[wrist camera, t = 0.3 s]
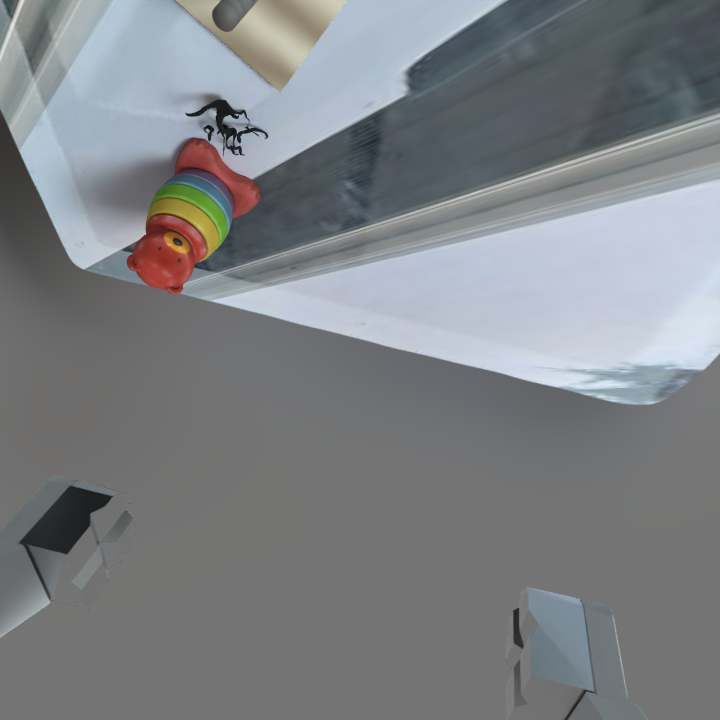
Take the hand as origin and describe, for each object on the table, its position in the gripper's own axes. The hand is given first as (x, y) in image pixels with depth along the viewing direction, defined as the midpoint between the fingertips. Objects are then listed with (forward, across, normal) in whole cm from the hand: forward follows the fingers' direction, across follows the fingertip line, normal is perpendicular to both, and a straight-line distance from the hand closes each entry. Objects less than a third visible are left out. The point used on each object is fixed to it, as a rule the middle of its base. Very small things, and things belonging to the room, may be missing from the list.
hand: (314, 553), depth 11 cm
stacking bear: (+59, +31, +13) cm, 68 cm away
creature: (+56, +26, +5) cm, 62 cm away
